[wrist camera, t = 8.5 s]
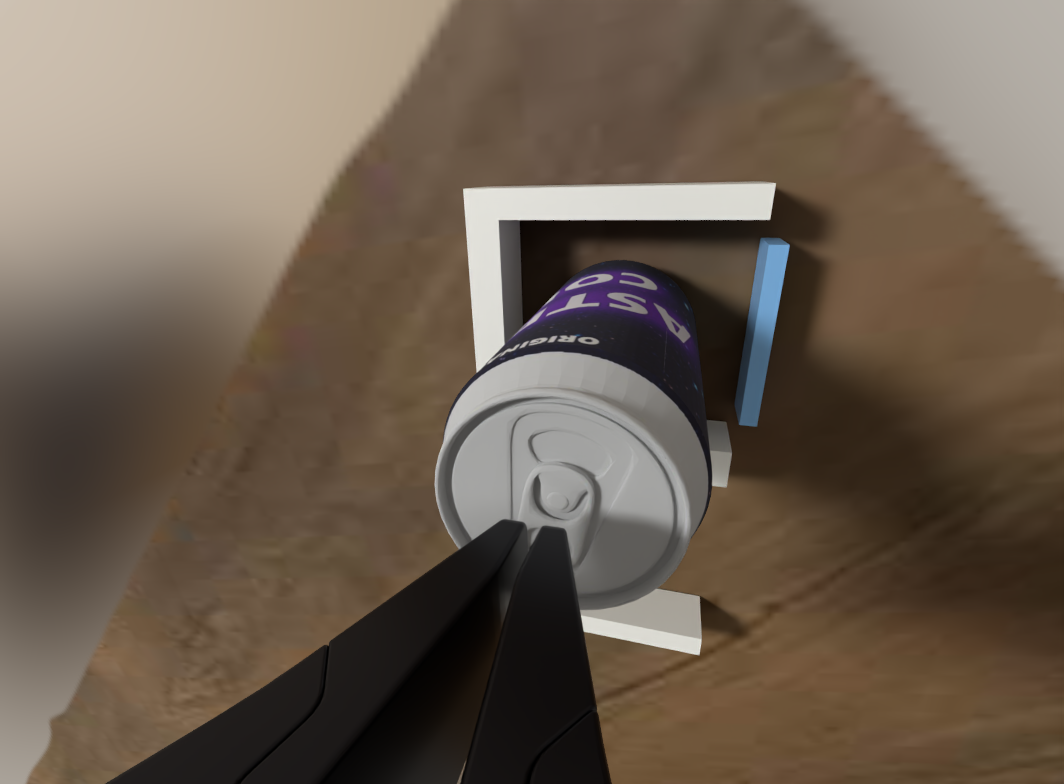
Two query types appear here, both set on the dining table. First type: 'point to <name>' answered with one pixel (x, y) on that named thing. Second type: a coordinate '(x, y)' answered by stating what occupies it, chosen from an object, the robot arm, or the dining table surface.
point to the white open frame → (500, 318)
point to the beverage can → (589, 432)
